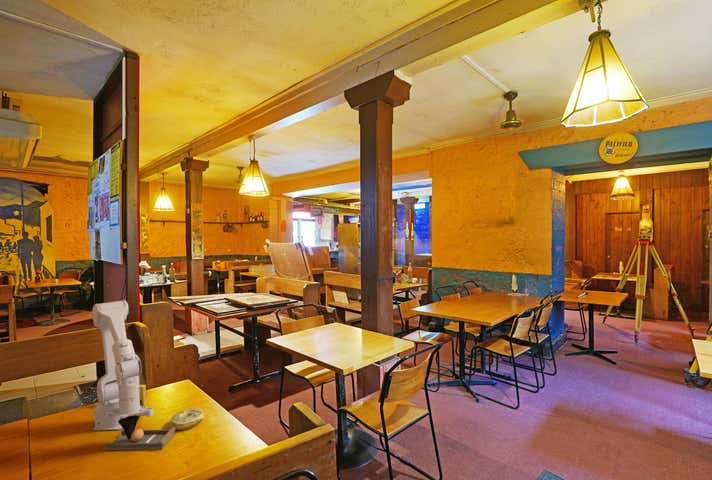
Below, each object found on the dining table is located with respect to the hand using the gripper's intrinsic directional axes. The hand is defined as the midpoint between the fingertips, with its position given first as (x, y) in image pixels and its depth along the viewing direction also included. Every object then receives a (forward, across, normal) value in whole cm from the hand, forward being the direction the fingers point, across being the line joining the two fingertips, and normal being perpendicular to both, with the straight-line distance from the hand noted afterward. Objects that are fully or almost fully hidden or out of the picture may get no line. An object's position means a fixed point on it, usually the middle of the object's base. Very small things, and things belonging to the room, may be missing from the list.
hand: (130, 437), depth 114 cm
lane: (+2, +4, 0) cm, 4 cm away
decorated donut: (+2, +13, +11) cm, 17 cm away
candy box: (+2, -18, +25) cm, 31 cm away
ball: (-1, +2, 0) cm, 2 cm away
